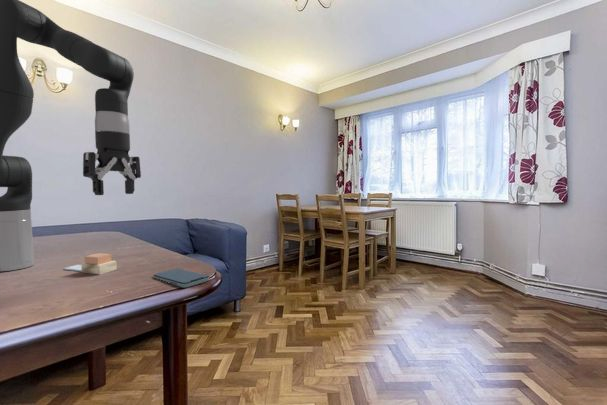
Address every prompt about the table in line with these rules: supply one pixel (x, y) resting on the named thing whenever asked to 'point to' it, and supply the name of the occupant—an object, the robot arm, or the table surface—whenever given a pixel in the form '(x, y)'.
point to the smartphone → (182, 277)
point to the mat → (74, 268)
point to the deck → (99, 267)
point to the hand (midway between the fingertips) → (115, 194)
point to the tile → (98, 258)
